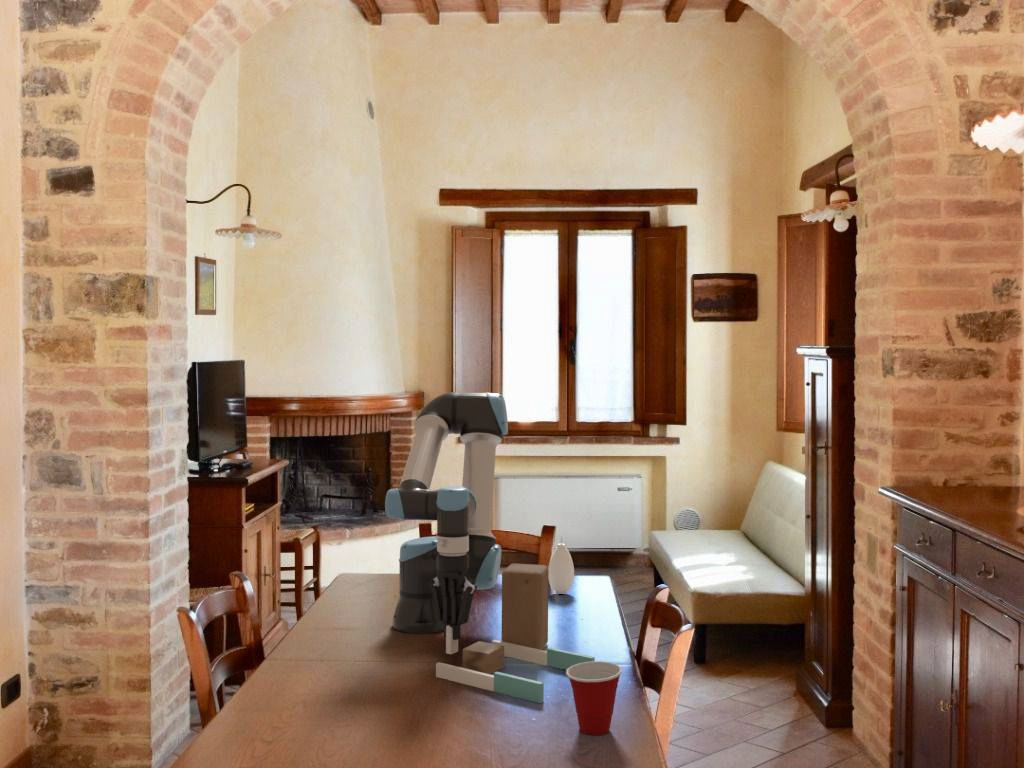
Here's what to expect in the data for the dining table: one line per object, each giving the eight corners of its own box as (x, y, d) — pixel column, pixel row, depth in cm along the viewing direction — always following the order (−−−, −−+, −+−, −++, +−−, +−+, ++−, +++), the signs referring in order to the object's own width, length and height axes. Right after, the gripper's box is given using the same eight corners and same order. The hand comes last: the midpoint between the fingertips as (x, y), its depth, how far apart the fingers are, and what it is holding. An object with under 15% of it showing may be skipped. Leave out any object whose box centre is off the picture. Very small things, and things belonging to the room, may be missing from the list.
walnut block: (462, 670, 221) (462, 649, 221) (478, 662, 227) (478, 641, 227) (488, 675, 217) (488, 653, 217) (504, 667, 223) (504, 645, 223)
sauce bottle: (544, 592, 294) (545, 533, 294) (569, 590, 296) (570, 532, 295) (552, 598, 286) (552, 538, 286) (577, 596, 288) (577, 537, 288)
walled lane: (435, 676, 216) (435, 659, 216) (494, 651, 234) (494, 635, 234) (540, 703, 200) (540, 684, 200) (594, 674, 218) (594, 657, 218)
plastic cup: (561, 719, 191) (562, 660, 190) (615, 718, 192) (616, 658, 191) (569, 741, 180) (570, 678, 180) (626, 740, 181) (627, 677, 181)
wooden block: (540, 655, 231) (541, 573, 231) (500, 652, 234) (500, 570, 233) (548, 643, 241) (549, 564, 241) (509, 640, 244) (510, 562, 243)
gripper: (421, 552, 227) (420, 651, 228) (464, 559, 220) (463, 661, 220) (441, 547, 233) (440, 643, 234) (484, 553, 226) (483, 653, 226)
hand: (452, 652), depth 227 cm, fingers closed
